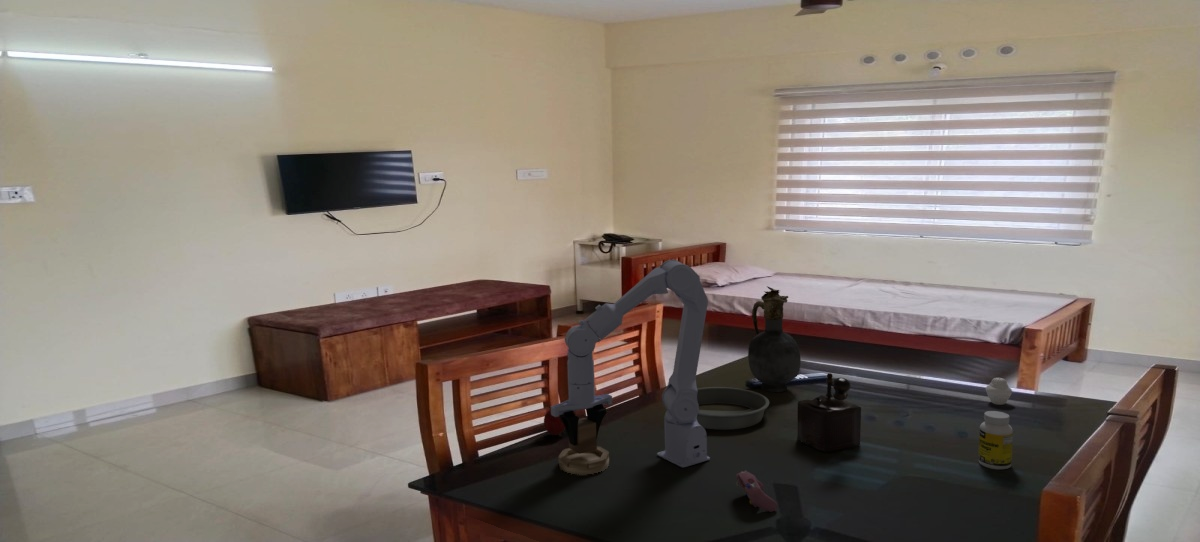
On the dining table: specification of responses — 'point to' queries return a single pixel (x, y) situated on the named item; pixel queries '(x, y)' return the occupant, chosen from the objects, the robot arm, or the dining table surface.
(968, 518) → the dining table surface
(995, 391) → the white rounded lump
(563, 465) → the base
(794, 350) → the pitcher
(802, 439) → the manual coffee grinder
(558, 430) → the onion
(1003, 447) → the pill bottle
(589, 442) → the walnut block
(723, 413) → the cake pan
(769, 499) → the pink animal figurine
